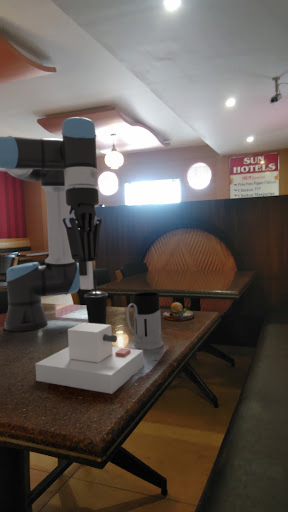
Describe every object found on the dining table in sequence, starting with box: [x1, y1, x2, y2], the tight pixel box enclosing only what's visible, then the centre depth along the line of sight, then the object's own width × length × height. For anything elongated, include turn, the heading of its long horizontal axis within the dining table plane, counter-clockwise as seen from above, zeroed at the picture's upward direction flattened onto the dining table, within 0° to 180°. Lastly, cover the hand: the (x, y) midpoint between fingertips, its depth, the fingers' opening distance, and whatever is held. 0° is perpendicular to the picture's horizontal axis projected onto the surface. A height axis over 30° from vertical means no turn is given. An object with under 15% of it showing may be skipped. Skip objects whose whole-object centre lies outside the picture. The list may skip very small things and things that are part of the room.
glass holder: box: [125, 291, 164, 350], centre depth 102 cm, size 9×14×15 cm, turn 147°
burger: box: [162, 300, 194, 322], centre depth 136 cm, size 12×12×8 cm
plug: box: [67, 322, 118, 363], centre depth 84 cm, size 11×6×11 cm, turn 66°
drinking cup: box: [83, 274, 109, 325], centre depth 115 cm, size 8×8×20 cm
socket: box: [34, 346, 145, 395], centre depth 84 cm, size 20×16×5 cm
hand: (87, 288), depth 84 cm, fingers closed
